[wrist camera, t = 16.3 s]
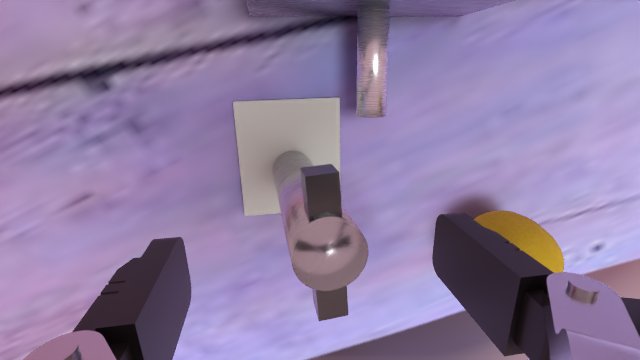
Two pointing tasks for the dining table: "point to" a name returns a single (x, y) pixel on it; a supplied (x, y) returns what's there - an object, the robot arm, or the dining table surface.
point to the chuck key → (319, 231)
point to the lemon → (525, 237)
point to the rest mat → (282, 142)
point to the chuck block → (370, 33)
